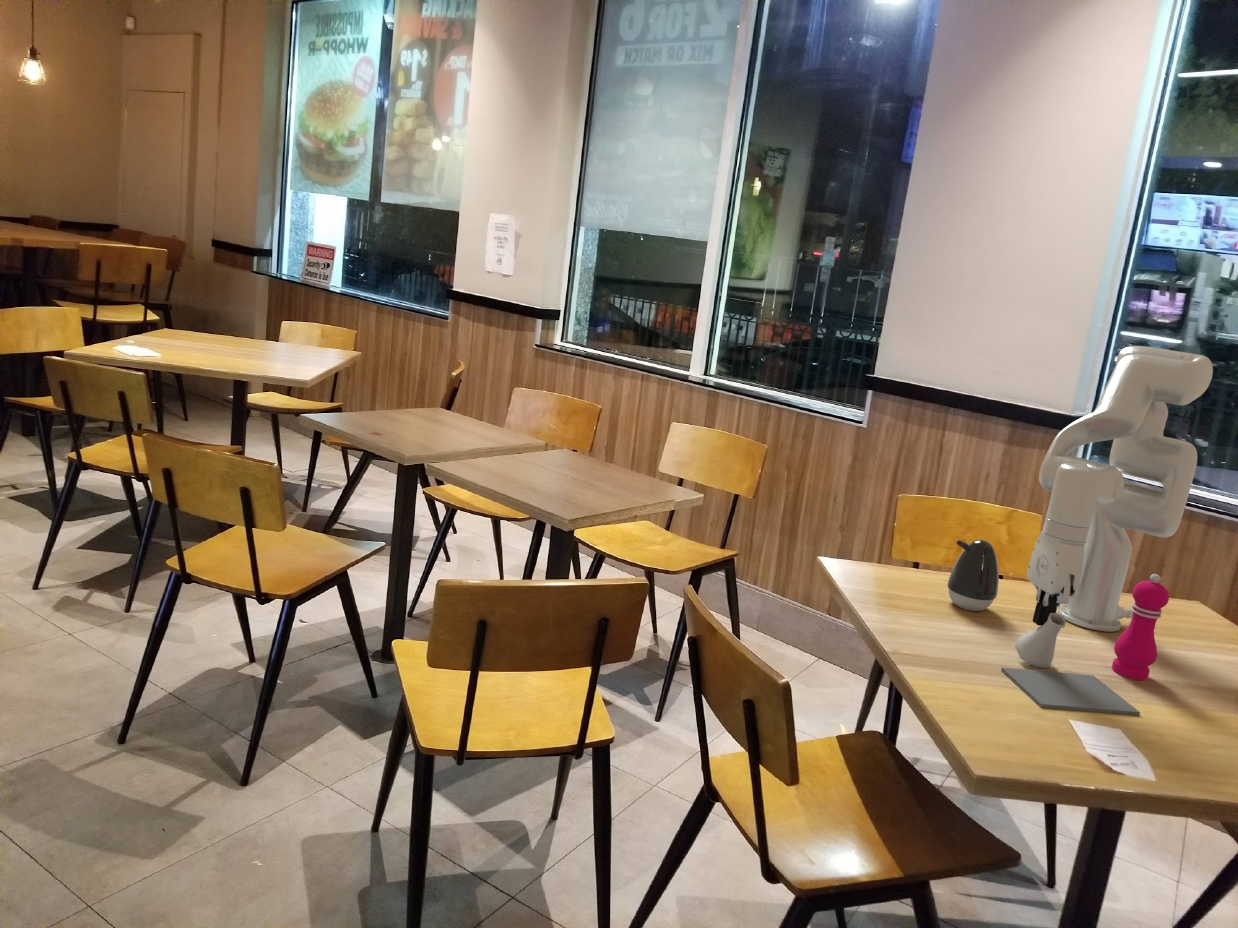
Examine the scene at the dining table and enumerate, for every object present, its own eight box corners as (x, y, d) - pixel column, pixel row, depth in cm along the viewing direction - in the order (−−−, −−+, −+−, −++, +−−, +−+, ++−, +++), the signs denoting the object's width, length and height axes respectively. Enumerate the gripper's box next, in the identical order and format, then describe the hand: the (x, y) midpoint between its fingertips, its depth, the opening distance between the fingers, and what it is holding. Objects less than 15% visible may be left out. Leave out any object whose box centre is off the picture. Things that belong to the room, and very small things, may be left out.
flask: (1053, 674, 177) (1079, 639, 171) (1015, 661, 178) (1039, 627, 172) (1051, 645, 183) (1075, 611, 176) (1013, 633, 184) (1036, 599, 177)
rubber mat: (1092, 678, 176) (1093, 675, 176) (1139, 715, 163) (1140, 712, 163) (1001, 670, 174) (1001, 667, 174) (1040, 707, 161) (1041, 703, 161)
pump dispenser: (938, 594, 213) (953, 529, 209) (986, 602, 212) (1001, 537, 208) (947, 610, 203) (962, 542, 200) (997, 619, 202) (1013, 551, 198)
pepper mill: (1146, 670, 184) (1173, 573, 179) (1153, 685, 177) (1182, 584, 173) (1106, 661, 186) (1131, 564, 181) (1111, 675, 179) (1138, 575, 175)
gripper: (1025, 517, 181) (1004, 607, 185) (1068, 541, 167) (1043, 638, 171) (1062, 521, 182) (1040, 611, 186) (1108, 546, 168) (1083, 642, 172)
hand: (1042, 624), depth 178 cm, fingers closed
